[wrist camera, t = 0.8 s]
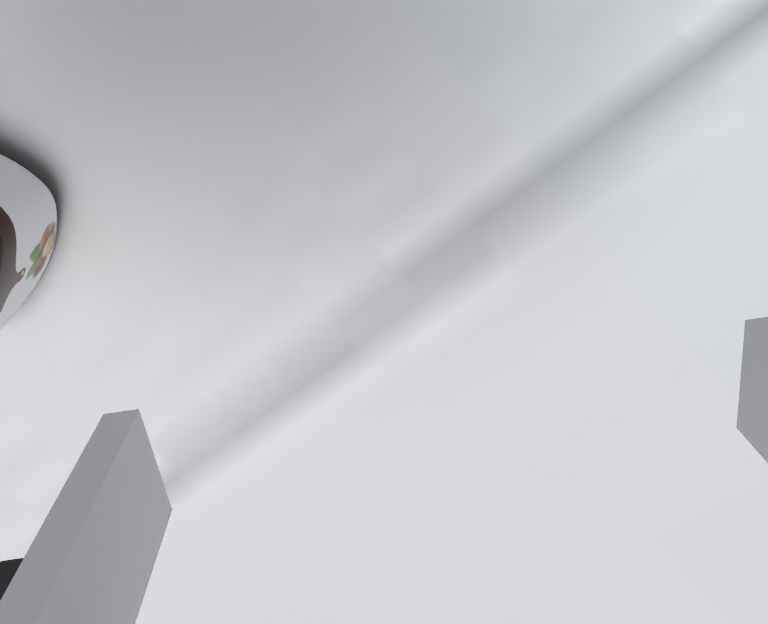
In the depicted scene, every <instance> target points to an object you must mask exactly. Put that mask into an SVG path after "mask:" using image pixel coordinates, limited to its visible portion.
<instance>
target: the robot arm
mask: <svg viewBox="0 0 768 624" xmlns="http://www.w3.org/2000/svg"><path fill="white" fill-rule="evenodd" d="M737 429H738V430H739V431H740V432H741V433H742V434H743V435H744V437H745V438H746V439H747V440H748V441H749V442H750V443H751V444H752V446H753V447H754V448H755V449H756V450H757V451H758V452H759V454H760V455H761V456H762V457H763V458H764V459H765V460H766V461H767V463H768V317H764V318H757V319H750V320H745V331H744V343H743V356H742V368H741V380H740V393H739V405H738V418H737ZM171 511H172V508H171V505H170V502H169V499H168V496H167V493H166V490H165V487H164V484H163V481H162V478H161V475H160V472H159V469H158V466H157V463H156V460H155V457H154V454H153V451H152V448H151V445H150V442H149V439H148V436H147V433H146V430H145V427H144V424H143V421H142V418H141V415H140V412H139V409H136V410H129V411H122V412H116V413H109V414H103V416H102V418H101V420H100V422H99V424H98V425H97V427H96V429H95V431H94V433H93V434H92V436H91V438H90V440H89V442H88V443H87V445H86V447H85V449H84V451H83V452H82V454H81V456H80V458H79V460H78V461H77V463H76V465H75V467H74V469H73V470H72V472H71V474H70V476H69V478H68V479H67V481H66V483H65V485H64V487H63V488H62V490H61V492H60V494H59V496H58V497H57V499H56V501H55V503H54V505H53V506H52V508H51V510H50V512H49V514H48V516H47V517H46V519H45V521H44V523H43V525H42V526H41V528H40V530H39V532H38V534H37V535H36V537H35V539H34V541H33V543H32V544H31V546H30V548H29V550H28V552H27V553H26V555H25V557H24V558H21V559H14V560H7V561H1V562H0V624H135V622H136V619H137V616H138V613H139V609H140V606H141V603H142V600H143V597H144V594H145V591H146V588H147V585H148V582H149V579H150V576H151V573H152V569H153V566H154V563H155V560H156V557H157V554H158V551H159V548H160V545H161V542H162V539H163V536H164V533H165V529H166V526H167V523H168V520H169V517H170V514H171Z"/></svg>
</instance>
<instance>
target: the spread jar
mask: <svg viewBox="0 0 768 624" xmlns="http://www.w3.org/2000/svg"><path fill="white" fill-rule="evenodd" d="M57 223H58V218H57V208H56V204H55V201H54V198H53V195H52V194H51V192H50V190H49V189H48V188H47V187H46V185H45V184H44V183H43V182H42V181H41V180H39V179H38V178H37V177H36V176H35V175H33V174H32V173H31V172H29V171H28V170H27V169H25V168H24V167H22V166H21V165H19V164H17V163H16V162H14V161H12V160H11V159H9V158H7V157H5V156H3V155H1V154H0V330H1V329H2V327H3V326H4V325H5V324H6V323H7V322H8V321H9V320H10V319H11V318H12V317H13V316H14V314H15V313H16V312H17V311H18V309H19V308H20V307H21V306H22V304H23V303H24V301H25V300H26V299H27V297H28V296H29V295H30V293H31V292H32V290H33V289H34V287H35V286H36V284H37V283H38V281H39V279H40V278H41V276H42V274H43V272H44V270H45V268H46V266H47V265H48V262H49V260H50V258H51V255H52V252H53V249H54V245H55V240H56V235H57Z"/></svg>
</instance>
